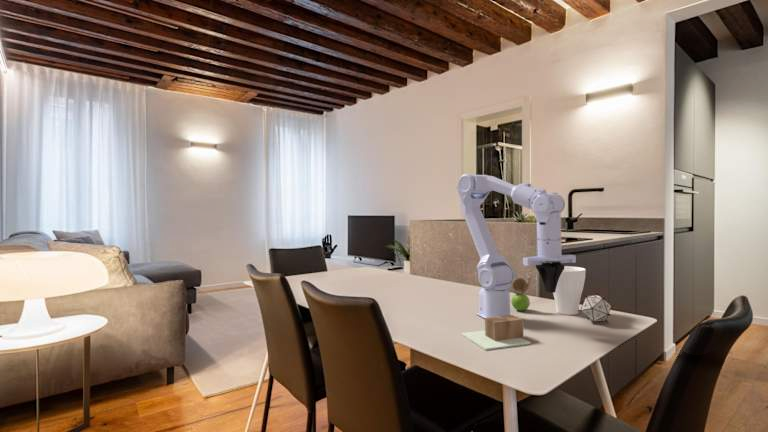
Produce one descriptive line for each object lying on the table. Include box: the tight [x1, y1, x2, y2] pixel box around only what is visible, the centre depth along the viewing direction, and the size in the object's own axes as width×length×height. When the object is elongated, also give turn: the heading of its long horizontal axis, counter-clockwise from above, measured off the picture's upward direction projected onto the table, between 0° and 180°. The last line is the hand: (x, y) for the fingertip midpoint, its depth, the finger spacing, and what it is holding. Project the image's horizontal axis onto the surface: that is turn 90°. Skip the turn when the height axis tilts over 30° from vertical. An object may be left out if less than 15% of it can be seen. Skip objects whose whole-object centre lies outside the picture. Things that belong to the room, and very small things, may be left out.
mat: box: [460, 329, 532, 351], centre depth 95 cm, size 12×12×1 cm
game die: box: [578, 292, 615, 325], centre depth 107 cm, size 9×8×10 cm
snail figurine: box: [511, 272, 533, 312], centre depth 122 cm, size 5×6×12 cm
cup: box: [552, 265, 587, 316], centre depth 118 cm, size 10×10×14 cm
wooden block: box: [484, 314, 525, 341], centre depth 96 cm, size 4×4×8 cm
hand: (550, 291), depth 100 cm, fingers closed
